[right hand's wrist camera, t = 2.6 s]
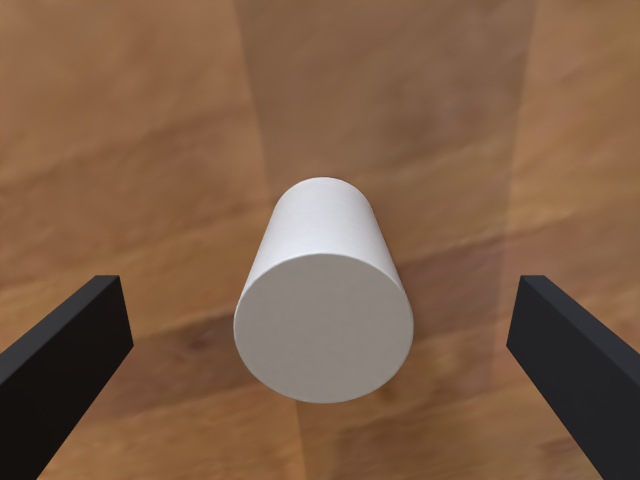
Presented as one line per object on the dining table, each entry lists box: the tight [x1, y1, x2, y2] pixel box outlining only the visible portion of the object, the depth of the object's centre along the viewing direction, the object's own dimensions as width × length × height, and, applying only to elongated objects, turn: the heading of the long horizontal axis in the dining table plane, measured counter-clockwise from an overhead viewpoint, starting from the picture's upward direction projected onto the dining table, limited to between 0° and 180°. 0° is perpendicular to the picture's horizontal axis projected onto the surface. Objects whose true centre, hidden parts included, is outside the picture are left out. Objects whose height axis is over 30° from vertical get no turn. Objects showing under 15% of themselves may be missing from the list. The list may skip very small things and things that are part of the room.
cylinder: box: [233, 177, 414, 404], centre depth 15 cm, size 5×5×9 cm
